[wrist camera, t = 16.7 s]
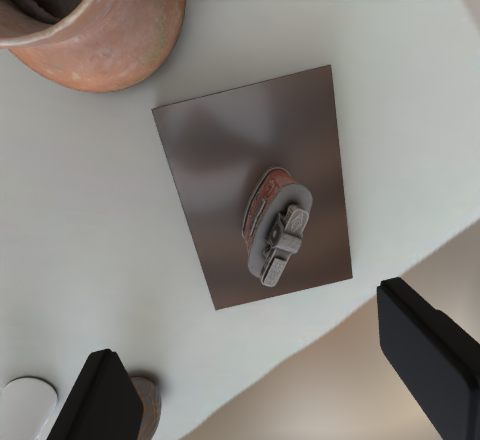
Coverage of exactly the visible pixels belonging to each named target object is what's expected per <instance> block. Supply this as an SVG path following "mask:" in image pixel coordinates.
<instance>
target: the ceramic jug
mask: <svg viewBox="0 0 480 440" xmlns="http://www.w3.org/2000/svg"><path fill="white" fill-rule="evenodd" d="M185 4H186V0H0V48H3V49H8V50H9V51H10V52H11V53H13V54H14V55H15V56H16V57H17V58H18V59H19V60H20V61H22V62H23V63H24V64H25V65H27V66H28V67H29V68H31V69H32V70H34V71H35V72H37V73H38V74H40V75H41V76H43V77H45V78H47V79H49V80H51V81H53V82H55V83H57V84H60V85H62V86H65V87H68V88H71V89H75V90H79V91H86V92H96V93H99V92H112V91H118V90H122V89H125V88H128V87H131V86H133V85H135V84H137V83H139V82H141V81H143V80H144V79H146V78H147V77H149V76H150V75H151V74H152V73H154V72H155V71H156V70H157V69H158V68H159V67H160V66H161V65H162V63H163V62H164V61H165V60H166V58H167V57H168V55H169V54H170V52H171V50H172V49H173V47H174V45H175V43H176V41H177V38H178V36H179V33H180V30H181V27H182V23H183V18H184V13H185Z"/></svg>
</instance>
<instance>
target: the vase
mask: <svg viewBox="0 0 480 440" xmlns="http://www.w3.org/2000/svg"><path fill="white" fill-rule="evenodd" d="M130 379H131V381H132V383H133V385H134V387H135V389H136V391H137V393H138V394H139V396H140V398H141V400H142V402H143V407H144V412H143V418H142V422H141V426H140V431H139V435H138V439H137V440H151V439H152V437H153V435H154V433H155V431H156V429H157V427H158V424H159V420H160V415H161V398H160V394H159V391H158V389H157V388H156V386H155V385H154V384H153V383H152V382H151V381H150V380H148V379H146V378H143V377H133V378H130Z"/></svg>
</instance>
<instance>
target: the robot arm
mask: <svg viewBox="0 0 480 440" xmlns="http://www.w3.org/2000/svg"><path fill="white" fill-rule="evenodd" d="M377 303H378V320H379V335H380V346H381V349H382V351H383V353H384V355H385V356H386V358H387V359H388V361H389V362H390V364H391V365H392V366H393V368H394V369H395V371H396V372H397V374H398V375H399V377H400V378H401V379H402V381H403V382H404V384H405V385H406V387H407V388H408V390H409V391H410V392H411V394H412V395H413V397H414V398H415V400H416V401H417V402H418V404H419V405H420V407H421V408H422V410H423V411H424V413H425V414H426V415H427V417H428V418H429V420H430V421H431V423H432V424H433V425H434V427H435V428H436V430H437V431H438V433H439V434H440V435H441V437H442V438H443V440H480V344H479V343H478V342H477V341H475V340H474V339H473V338H472V337H471V336H470V335H469V334H468V333H466V332H465V331H464V330H463V329H462V328H461V327H460V326H459V325H457V324H456V323H455V322H454V321H453V320H452V319H451V318H450V317H448V316H447V315H446V314H445V313H443V312H442V311H440V310H436V309H434V308H433V307H432V306H431V305H430V304H429V303H428V302H427V301H425V300H424V299H423V298H422V297H421V296H420V295H419V294H418V293H417V292H416V291H415V290H413V289H412V288H411V287H410V286H409V285H408V284H407V283H406V282H405V281H404V280H402V279H401V278H400V277H396V278H391V279H387V280H383V281H381V284H380V286H378V287H377ZM143 412H144V407H143V402H142V400H141V398H140V396H139V394H138V393H137V391H136V389H135V387H134V385H133V383H132V381H131V379H130V377H129V375H128V373H127V372H126V370H125V368H124V366H123V364H122V362H121V360H120V358H119V356H118V354H117V353H116V352H112V351H111V350H110V349H104V350H100V351H96V352H92V353H91V354H90V355H89V356H88V358H87V360H86V362H85V364H84V366H83V368H82V370H81V372H80V374H79V376H78V378H77V380H76V382H75V384H74V386H73V388H72V390H71V392H70V394H69V396H68V398H67V400H66V402H65V404H64V406H63V408H62V410H61V412H60V414H59V416H58V418H57V420H56V422H55V424H54V426H53V428H52V430H51V432H50V434H49V436H48V438H47V439H46V440H137V439H138V435H139V431H140V426H141V422H142V418H143Z"/></svg>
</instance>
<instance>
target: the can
mask: <svg viewBox="0 0 480 440" xmlns="http://www.w3.org/2000/svg"><path fill="white" fill-rule="evenodd" d="M56 404H57V394H56V391H55V389H54V388H53V387H52V386H51V385H50V384H49V383H47V382H46V381H44V380H41V379H38V378H33V377H24V378H20V379H17V380H14V381H12V382H10V383H9V384H8V385H7V386H6V387H5V388H4V389H3V390H2V392H1V393H0V440H37V439H38V437H39V435H40V433H41V432H42V430H43V428H44V426H45V424H46V423H47V421H48V419H49V417H50V415H51V413H52V412H53V410H54V408H55V406H56Z"/></svg>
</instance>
